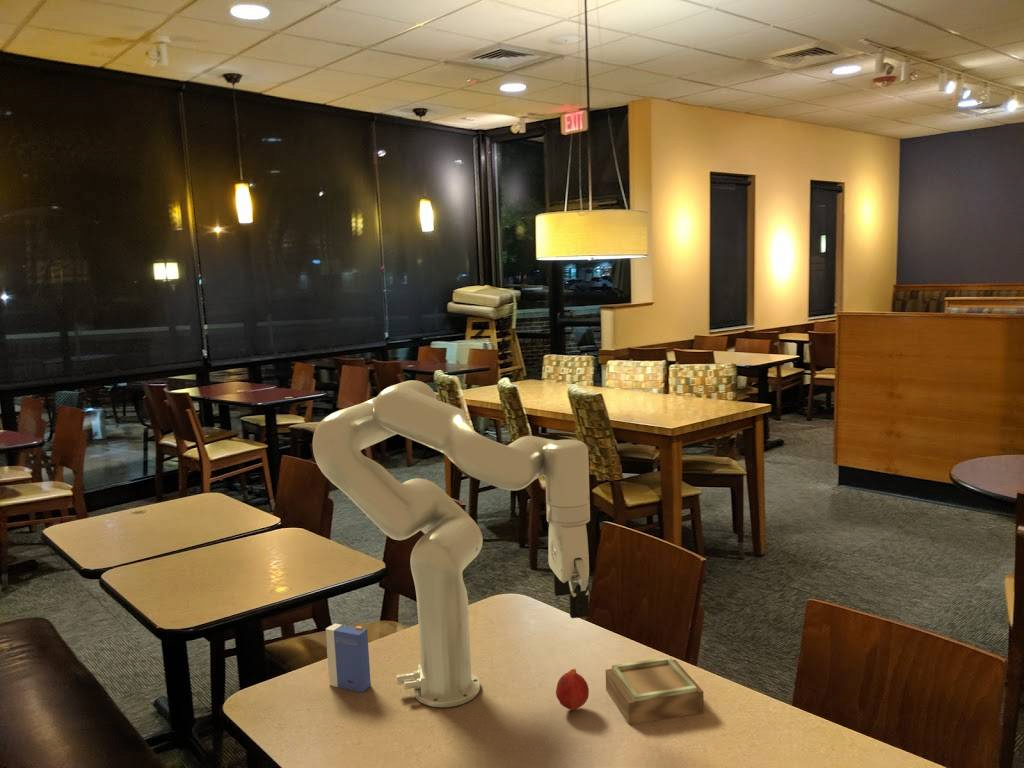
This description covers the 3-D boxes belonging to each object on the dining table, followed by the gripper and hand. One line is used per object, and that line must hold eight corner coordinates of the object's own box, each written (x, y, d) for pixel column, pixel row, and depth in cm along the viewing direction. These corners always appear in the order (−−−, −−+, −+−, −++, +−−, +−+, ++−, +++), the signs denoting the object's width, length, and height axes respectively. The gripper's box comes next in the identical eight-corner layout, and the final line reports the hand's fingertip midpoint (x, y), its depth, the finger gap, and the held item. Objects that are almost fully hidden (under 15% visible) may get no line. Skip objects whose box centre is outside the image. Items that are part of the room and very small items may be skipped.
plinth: (628, 724, 137) (628, 698, 136) (605, 689, 149) (605, 665, 148) (703, 712, 140) (703, 687, 139) (675, 679, 151) (675, 655, 151)
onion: (562, 721, 139) (561, 679, 137) (552, 704, 144) (551, 663, 143) (593, 715, 140) (592, 673, 139) (582, 699, 146) (581, 658, 144)
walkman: (371, 685, 153) (367, 627, 151) (362, 692, 150) (358, 633, 149) (337, 678, 156) (333, 621, 154) (329, 685, 154) (324, 627, 152)
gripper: (534, 500, 144) (538, 589, 147) (561, 529, 128) (564, 629, 130) (574, 496, 146) (576, 584, 148) (605, 524, 129) (607, 623, 132)
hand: (571, 605), depth 139 cm, fingers open, 9 cm apart
